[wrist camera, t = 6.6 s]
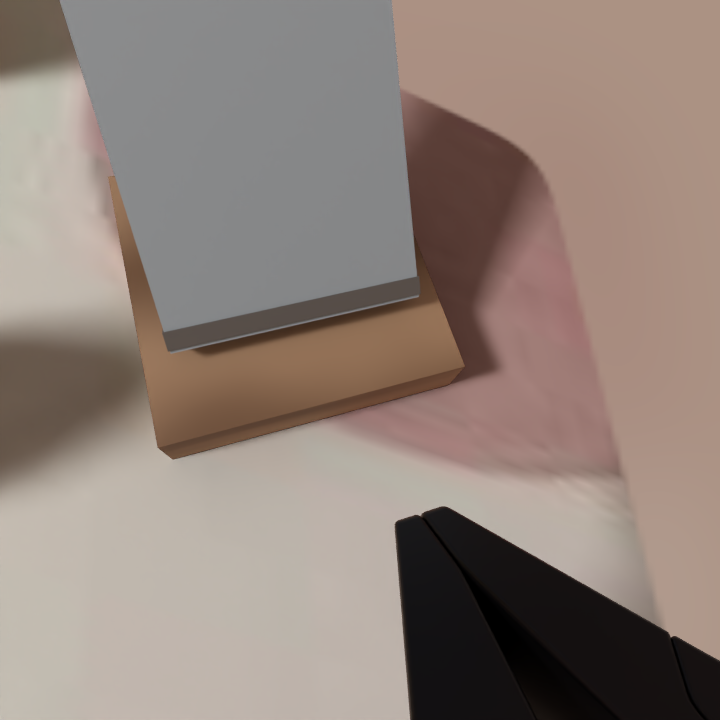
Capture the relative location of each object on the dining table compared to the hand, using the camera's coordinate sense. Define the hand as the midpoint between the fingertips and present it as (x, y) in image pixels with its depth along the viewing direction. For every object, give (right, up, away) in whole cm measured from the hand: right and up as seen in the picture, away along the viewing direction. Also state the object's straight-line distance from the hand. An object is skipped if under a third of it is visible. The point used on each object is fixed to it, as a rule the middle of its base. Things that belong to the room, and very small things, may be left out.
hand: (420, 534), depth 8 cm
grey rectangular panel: (-3, +4, +9) cm, 11 cm away
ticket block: (-4, +5, +12) cm, 13 cm away
